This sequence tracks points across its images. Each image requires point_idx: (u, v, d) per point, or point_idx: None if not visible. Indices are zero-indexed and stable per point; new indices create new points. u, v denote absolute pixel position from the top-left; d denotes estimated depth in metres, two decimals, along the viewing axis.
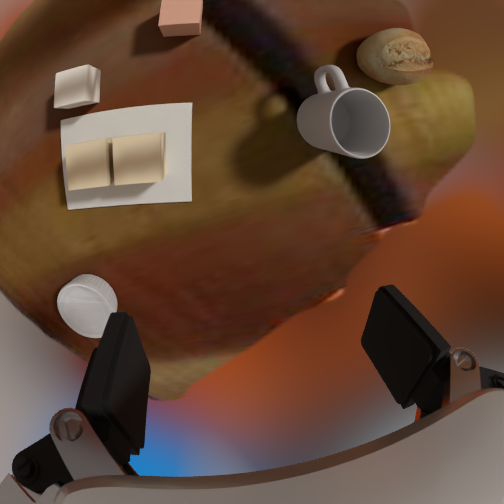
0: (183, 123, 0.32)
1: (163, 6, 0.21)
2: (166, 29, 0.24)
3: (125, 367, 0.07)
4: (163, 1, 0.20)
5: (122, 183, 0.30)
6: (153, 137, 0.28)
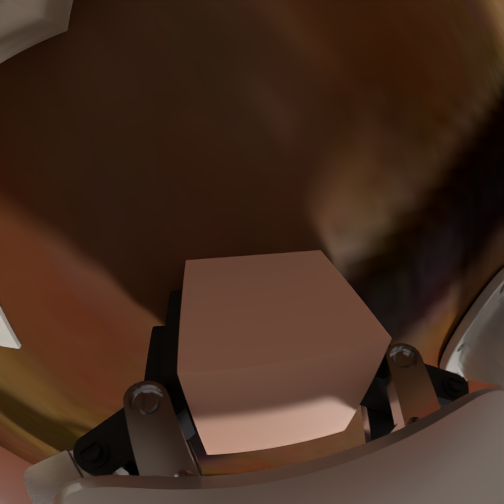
0: None
1: (317, 366, 0.06)
2: None
3: None
4: (352, 355, 0.06)
5: None
6: None
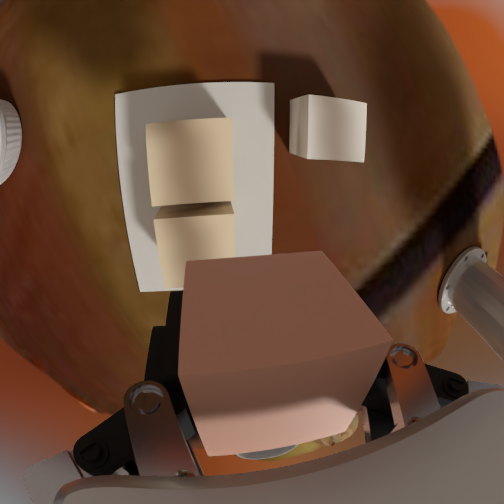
0: None
1: (319, 367, 0.06)
2: None
3: None
4: (354, 356, 0.06)
5: (157, 232, 0.20)
6: None
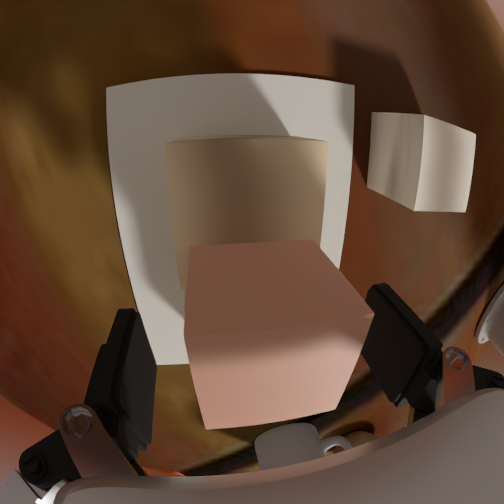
0: None
1: (307, 334, 0.07)
2: None
3: (133, 362, 0.07)
4: (338, 326, 0.07)
5: None
6: None
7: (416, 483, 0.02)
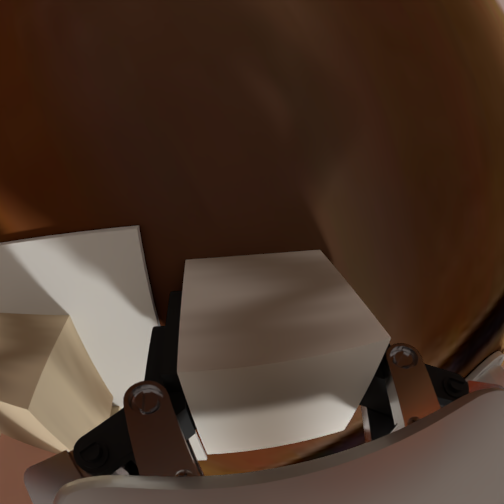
0: None
1: None
2: None
3: None
4: None
5: None
6: None
7: (416, 483, 0.02)
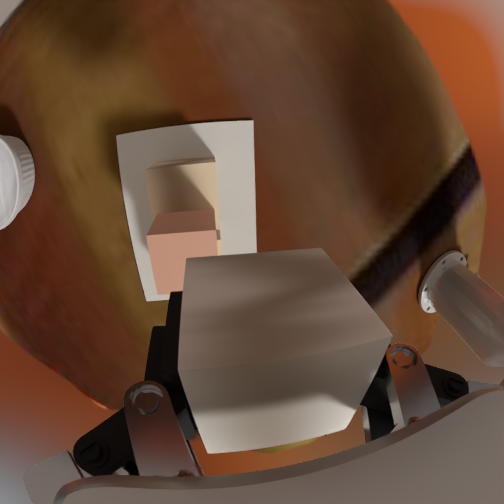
0: None
1: (188, 236, 0.19)
2: None
3: None
4: (200, 234, 0.19)
5: None
6: None
7: (416, 483, 0.02)
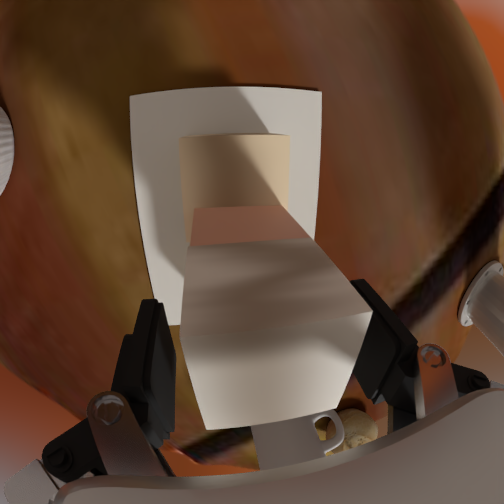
0: None
1: None
2: None
3: (160, 350, 0.08)
4: None
5: None
6: None
7: (416, 483, 0.02)
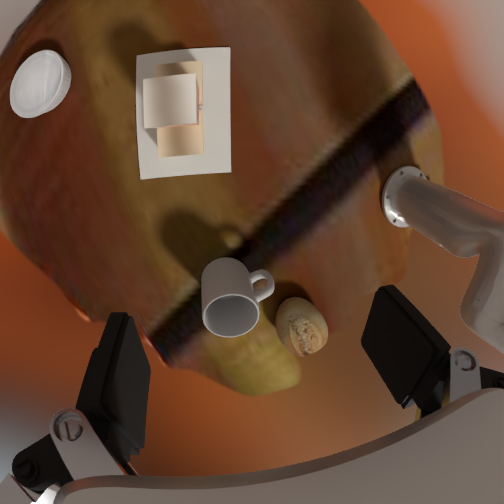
0: (211, 166, 0.39)
1: None
2: None
3: (125, 367, 0.07)
4: None
5: None
6: (199, 148, 0.33)
7: (416, 483, 0.02)
